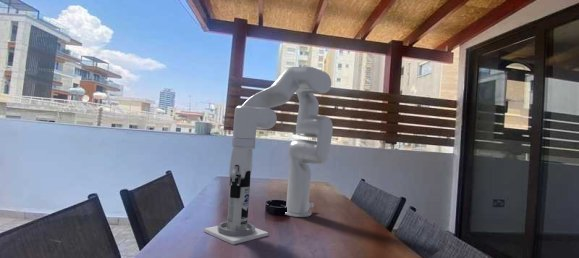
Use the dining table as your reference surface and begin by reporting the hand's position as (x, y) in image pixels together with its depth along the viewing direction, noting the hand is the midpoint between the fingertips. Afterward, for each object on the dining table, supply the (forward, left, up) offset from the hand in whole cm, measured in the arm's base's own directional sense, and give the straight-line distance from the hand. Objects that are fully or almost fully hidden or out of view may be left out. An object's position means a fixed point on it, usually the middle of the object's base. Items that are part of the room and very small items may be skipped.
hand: (239, 194), depth 115 cm
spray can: (0, 0, -12) cm, 12 cm away
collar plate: (0, 0, -13) cm, 13 cm away
